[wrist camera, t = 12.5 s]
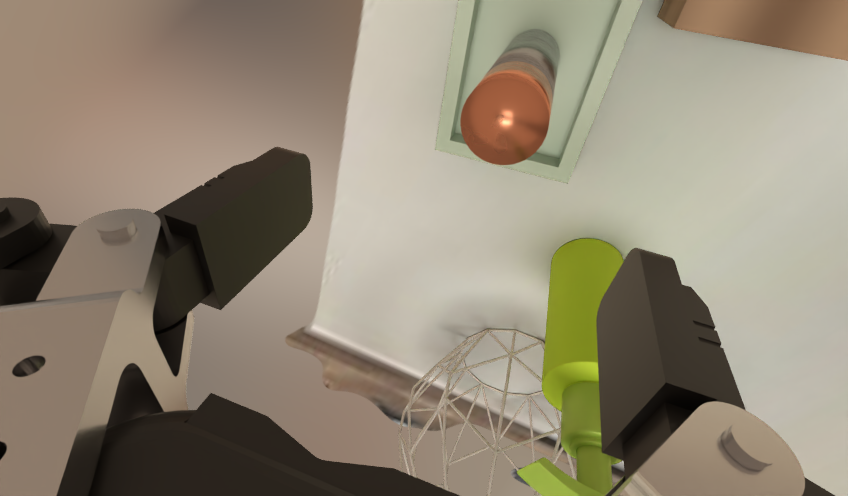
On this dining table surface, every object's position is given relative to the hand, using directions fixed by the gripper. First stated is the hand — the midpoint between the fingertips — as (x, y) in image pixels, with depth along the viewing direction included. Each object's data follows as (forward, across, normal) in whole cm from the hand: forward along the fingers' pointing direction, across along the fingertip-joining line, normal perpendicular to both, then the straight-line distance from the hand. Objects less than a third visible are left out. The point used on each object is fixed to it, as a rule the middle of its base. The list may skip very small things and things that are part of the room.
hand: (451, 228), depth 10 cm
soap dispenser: (+22, -9, +15) cm, 28 cm away
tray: (+22, 0, 0) cm, 22 cm away
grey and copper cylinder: (+21, 0, 0) cm, 21 cm away
